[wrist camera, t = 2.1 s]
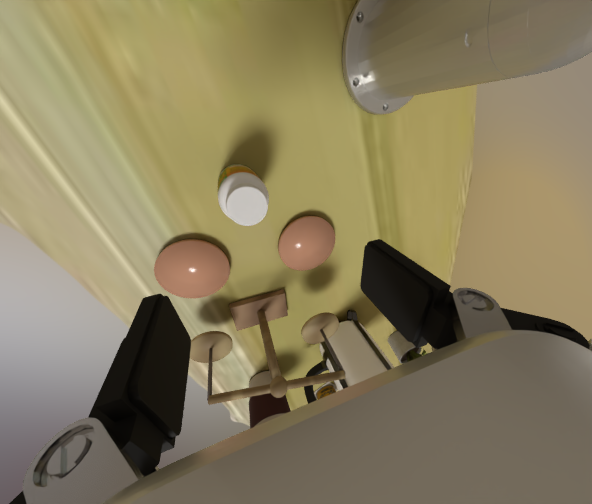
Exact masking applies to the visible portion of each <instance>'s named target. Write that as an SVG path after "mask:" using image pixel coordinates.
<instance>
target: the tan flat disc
mask: <svg viewBox="0 0 592 504" xmlns="http://www.w3.org/2000/svg"><path fill="white" fill-rule="evenodd" d="M154 272H155V277H156V279H157V281H158V283H159V284H160V285H161V286H162V287H163V288H164V289H165V290H166V291H168V292H170V293H172V294H174V295H176V296H180V297H184V298H201V297H205V296H208V295H211V294H213V293H215V292H217V291H218V290H219V289H221V288H222V287H223V286H224V285H225V283H226V282H227V280H228V277H229V274H230V265H229V261H228V258H227V256H226V255H225V253H224V252H223V251H222V250H221V249H220V248H218V247H217V246H216V245H214V244H212V243H210V242H207V241H203V240H197V239H187V240H181V241H177V242H175V243H172V244H171V245H169V246H167V247H166V248H165V249H164V250H163V251H162V252H161V253H160V254H159V256H158V258H157V260H156V263H155V267H154Z"/></svg>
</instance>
